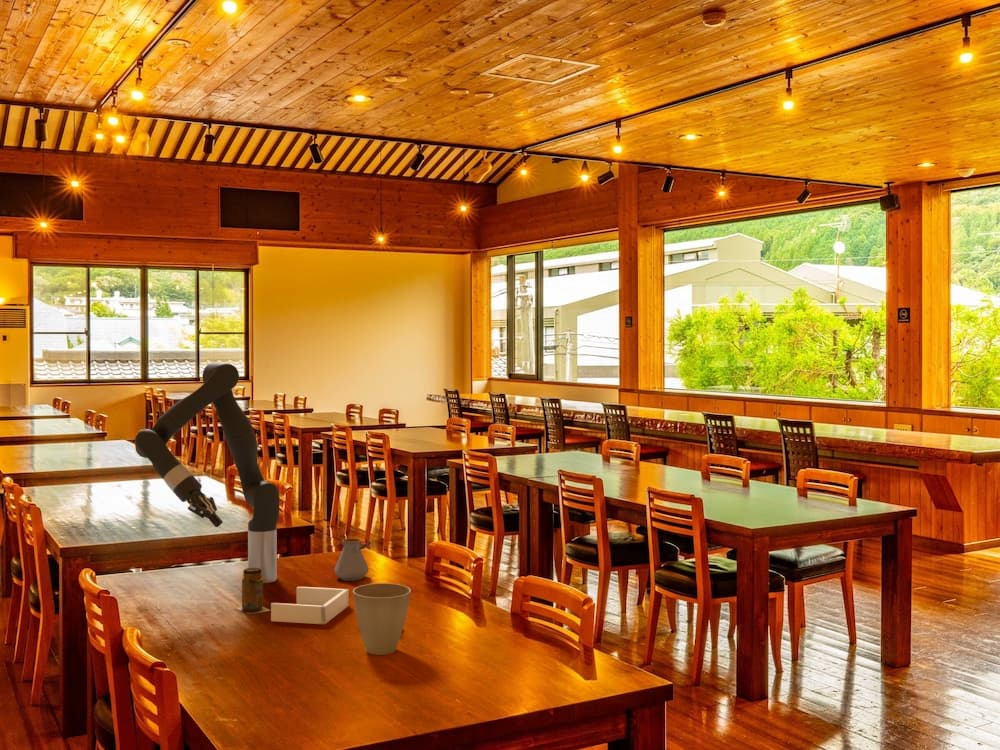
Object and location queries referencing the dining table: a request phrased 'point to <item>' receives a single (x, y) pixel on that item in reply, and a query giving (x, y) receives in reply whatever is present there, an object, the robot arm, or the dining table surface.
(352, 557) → the coffee pot
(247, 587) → the condiment
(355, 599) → the plant pot
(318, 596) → the caddy
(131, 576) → the dining table surface
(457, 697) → the dining table surface
